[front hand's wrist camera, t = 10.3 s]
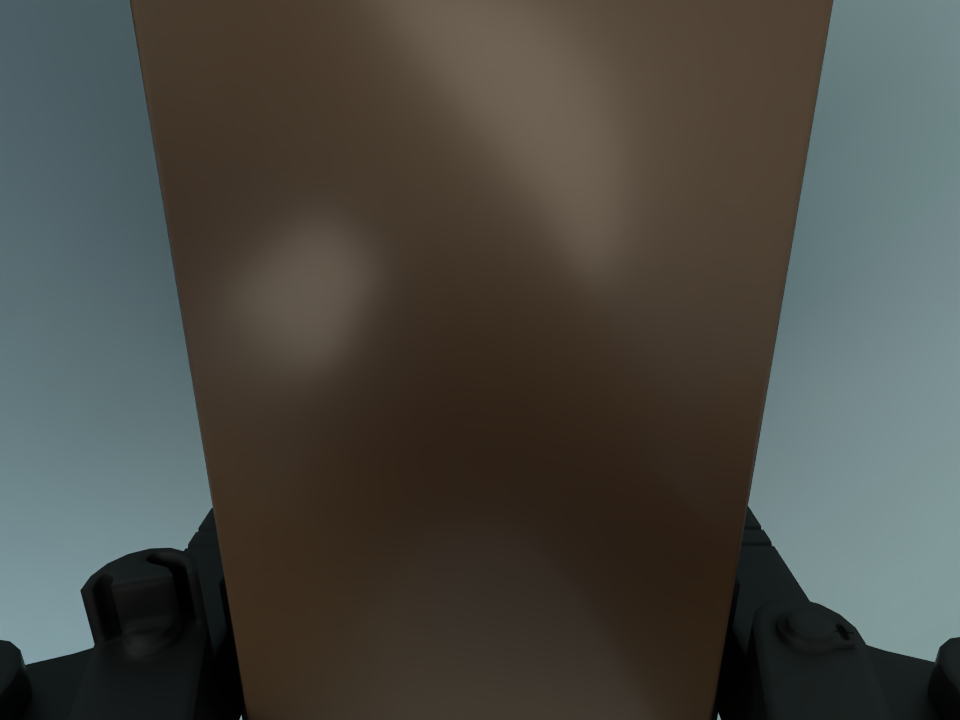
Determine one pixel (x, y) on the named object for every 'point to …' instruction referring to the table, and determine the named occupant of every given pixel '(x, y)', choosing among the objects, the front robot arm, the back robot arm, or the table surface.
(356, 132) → the post
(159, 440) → the table surface
